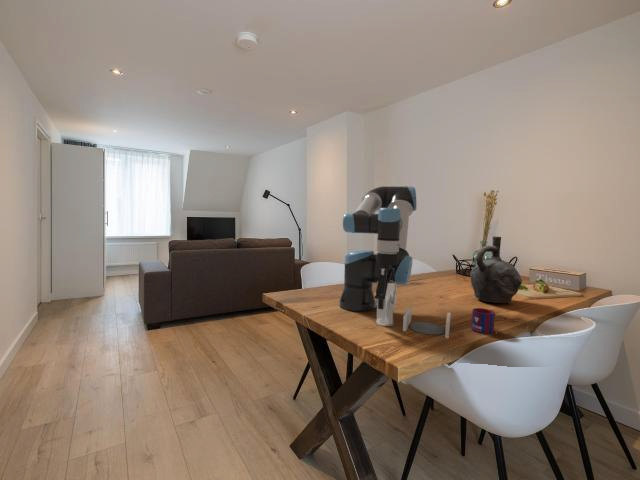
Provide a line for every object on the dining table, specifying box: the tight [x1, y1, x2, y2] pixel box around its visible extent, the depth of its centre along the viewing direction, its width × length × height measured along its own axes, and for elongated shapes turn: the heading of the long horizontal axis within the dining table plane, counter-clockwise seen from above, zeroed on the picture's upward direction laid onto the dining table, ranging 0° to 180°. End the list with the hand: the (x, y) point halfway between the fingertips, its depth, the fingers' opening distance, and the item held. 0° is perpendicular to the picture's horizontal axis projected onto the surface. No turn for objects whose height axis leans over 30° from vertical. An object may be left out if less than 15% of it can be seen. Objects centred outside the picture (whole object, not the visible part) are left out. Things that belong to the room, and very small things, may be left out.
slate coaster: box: [409, 321, 445, 336], centre depth 108 cm, size 11×11×1 cm
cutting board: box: [514, 278, 582, 300], centre depth 170 cm, size 35×23×8 cm
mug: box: [471, 307, 496, 335], centre depth 108 cm, size 7×10×7 cm
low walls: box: [402, 306, 452, 339], centre depth 108 cm, size 14×12×5 cm
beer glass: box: [375, 280, 397, 327], centre depth 112 cm, size 7×7×15 cm
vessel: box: [469, 236, 523, 304], centre depth 146 cm, size 24×22×30 cm
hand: (385, 312), depth 112 cm, fingers open, 13 cm apart
